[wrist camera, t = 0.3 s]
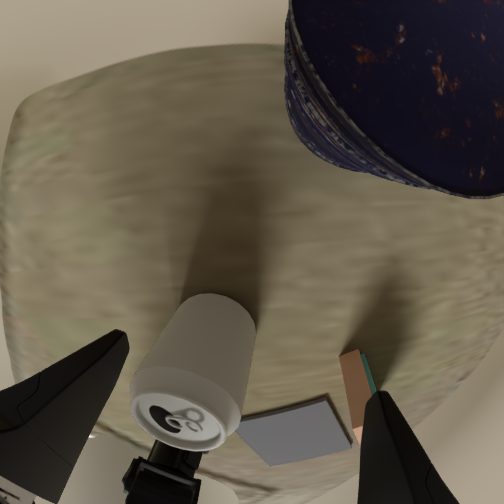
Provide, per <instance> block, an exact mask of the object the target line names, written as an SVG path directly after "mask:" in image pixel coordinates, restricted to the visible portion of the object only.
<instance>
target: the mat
mask: <svg viewBox="0 0 504 504" xmlns="http://www.w3.org/2000/svg"><path fill="white" fill-rule="evenodd" d="M235 432H236V433H237V434H238V435H239V436H240V437H241V438H242V439H243V440H244V441H245V442H246V443H247V444H248V445H249V446H250V447H251V448H252V449H253V450H254V451H255V452H256V453H257V454H258V455H259V456H260V457H261V458H262V459H263V460H264V461H265V462H266V463H267V464H268V465H269V466H275V465H281V464H287V463H292V462H297V461H302V460H307V459H312V458H316V457H320V456H324V455H328V454H332V453H336V452H340V451H343V450H347V449H350V448H352V447H351V443H350V441H349V439H348V438H347V436H346V434H345V432H344V430H343V428H342V426H341V424H340V422H339V421H338V419H337V417H336V415H335V413H334V411H333V409H332V407H331V405H330V404H329V402H328V400H327V398H326V397H323V398H320V399H316V400H313V401H310V402H306V403H303V404H299V405H296V406H292V407H288V408H284V409H280V410H276V411H272V412H268V413H264V414H259V415H255V416H250V417H245V418H241V420H240V423H239V427H238V428H237V429H236V430H235Z"/></svg>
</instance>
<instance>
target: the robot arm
mask: <svg viewBox="0 0 504 504" xmlns="http://www.w3.org/2000/svg"><path fill="white" fill-rule="evenodd" d="M128 353H129V342H128V338H127V334H126V333H125V332H124V331H121V330H118V329H115V330H113V331H111V332H109V333H108V334H106V335H104V336H102V337H100V338H99V339H97V340H95V341H93V342H92V343H90V344H88V345H86V346H85V347H83V348H81V349H79V350H78V351H76V352H74V353H72V354H71V355H69V356H67V357H65V358H63V359H62V360H60V361H58V362H56V363H55V364H53V365H51V366H49V367H48V368H46V369H44V370H42V371H41V372H39V373H37V374H35V375H33V376H32V377H30V378H28V379H26V380H24V381H22V382H20V383H18V384H15V385H13V386H11V387H9V388H6V389H4V390H1V391H0V504H35V502H34V499H35V497H36V495H37V496H39V497H41V498H43V499H45V500H48V501H50V502H52V503H54V504H57V503H58V501H59V499H60V497H61V495H62V492H63V490H64V488H65V486H66V483H67V481H68V479H69V477H70V475H71V473H72V470H73V468H74V466H75V464H76V462H77V459H78V457H79V455H80V453H81V451H82V449H83V447H84V445H85V443H86V441H87V439H88V437H89V435H90V433H91V431H92V429H93V427H94V425H95V423H96V421H97V419H98V417H99V415H100V413H101V412H102V410H103V408H104V406H105V404H106V402H107V400H108V398H109V396H110V395H111V393H112V391H113V389H114V387H115V385H116V382H117V380H118V378H119V375H120V373H121V370H122V368H123V365H124V363H125V360H126V358H127V355H128ZM208 452H209V450H208V451H190V450H183V449H179V448H176V447H173V446H170V445H168V444H165V443H163V442H161V441H159V440H157V439H156V440H155V443H154V445H153V447H152V450H151V452H150V454H149V457H148V459H147V460H146V459H144V458H143V457H140V456H139V458H138V459H133V461H132V463H131V465H130V467H129V469H128V470H127V472H126V474H125V475H124V477H123V479H122V482H123V484H124V493H126V494H128V495H127V498H126V500H125V504H197V502H198V497H199V491H200V486H201V480H200V479H195V478H193V477H194V474H195V470H197V469H198V467H199V464H200V460H201V457H202V454H208ZM357 504H459V502H458V501H457V499H456V498H455V497H454V495H453V494H452V493H451V491H450V490H449V489H448V487H447V486H446V484H445V483H444V482H443V480H442V479H441V477H440V476H439V474H438V472H437V471H436V469H435V467H434V466H433V464H432V463H431V461H430V459H429V457H428V456H427V454H426V452H425V451H424V449H423V447H422V446H421V444H420V442H419V441H418V439H417V437H416V436H415V434H414V433H413V431H412V429H411V428H410V426H409V424H408V423H407V421H406V420H405V418H404V416H403V415H402V413H401V412H400V410H399V408H398V407H397V405H396V404H395V402H394V401H393V399H392V397H391V396H390V394H389V393H388V392H387V391H382V390H377V391H375V392H374V394H373V395H372V396H371V397H370V399H369V400H368V401H367V403H366V405H365V411H364V421H363V429H362V437H361V449H360V474H359V490H358V503H357Z"/></svg>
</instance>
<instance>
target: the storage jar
mask: <svg viewBox="0 0 504 504" xmlns="http://www.w3.org/2000/svg"><path fill="white" fill-rule="evenodd" d="M284 62H285V68H286V75H285V84H284V91H285V100H286V107H287V111H288V116H289V119H290V122H291V125H292V127H293V129H294V131H295V133H296V135H297V136H298V138H299V139H300V141H301V142H302V143H303V144H304V145H305V146H306V147H307V148H308V149H309V150H310V151H311V152H312V153H314V154H315V155H316V156H318V157H319V158H321V159H322V160H324V161H326V162H329V163H331V164H333V165H335V166H338V167H340V168H344V169H347V170H351V171H356V172H364V173H370V174H372V175H375V176H378V177H381V178H384V179H387V180H391V181H396V182H399V183H402V184H406V185H409V186H414V187H420V188H425V189H434V190H437V191H440V192H443V193H447V194H450V195H454V196H459V197H464V198H468V199H491V198H495V197H499V196H504V0H289V9H288V14H287V18H286V22H285V56H284Z"/></svg>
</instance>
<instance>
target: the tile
mask: <svg viewBox="0 0 504 504" xmlns="http://www.w3.org/2000/svg"><path fill="white" fill-rule="evenodd" d="M339 359H340V363H341V368H342V373H343V378H344V383H345V388H346V394H347V399H348V405H349V410H350V416H351V422H352V428H353V431H354V433H355V435H356V437H357V439H358V441H359V443H360V445H361V437H362V429H363V421H364V411H365V405H366V403H367V401H368V400H369V399H370V397H371V396H372V395H373V394H374V392H375V391H377V390H376V387H375V383H374V380H373V377H372V374H371V371H370V368H369V365H368V363H367V360H366V357H365V354H364V353H363V354H361V355H360V352H359V349H356V350H354V351H351V352H349V353H346V354H344V355H341V356H339Z"/></svg>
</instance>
